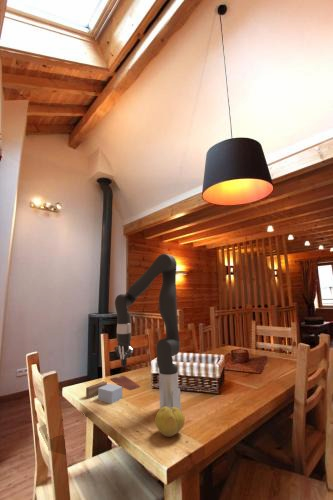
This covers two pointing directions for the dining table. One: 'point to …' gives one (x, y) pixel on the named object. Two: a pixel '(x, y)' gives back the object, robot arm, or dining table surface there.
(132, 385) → the wooden tablet
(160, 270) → the robot arm
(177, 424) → the fruit
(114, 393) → the slate brick
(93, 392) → the walnut board
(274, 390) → the dining table surface
